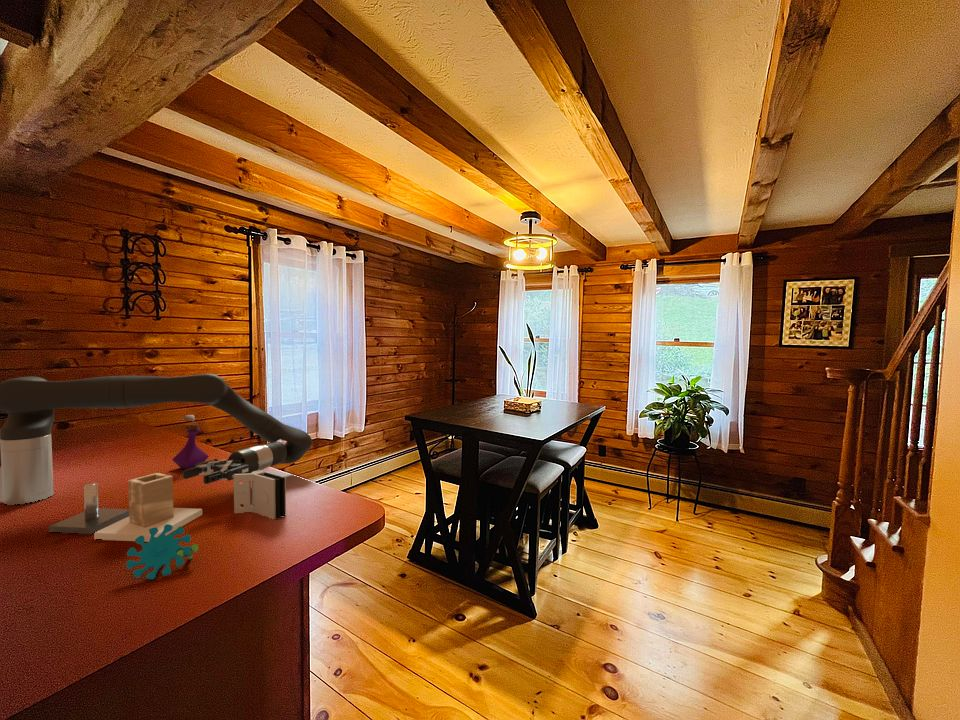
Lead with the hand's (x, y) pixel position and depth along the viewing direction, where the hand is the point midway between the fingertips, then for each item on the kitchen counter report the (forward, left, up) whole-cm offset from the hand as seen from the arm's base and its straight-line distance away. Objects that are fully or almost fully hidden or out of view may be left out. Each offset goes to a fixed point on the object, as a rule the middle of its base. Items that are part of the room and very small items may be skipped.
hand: (193, 477), depth 104 cm
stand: (-18, -9, -9) cm, 22 cm away
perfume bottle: (-27, +33, -9) cm, 44 cm away
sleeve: (-3, -9, -7) cm, 12 cm away
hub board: (-3, -9, -9) cm, 13 cm away
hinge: (+18, 0, -9) cm, 20 cm away
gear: (+14, -25, -9) cm, 30 cm away
